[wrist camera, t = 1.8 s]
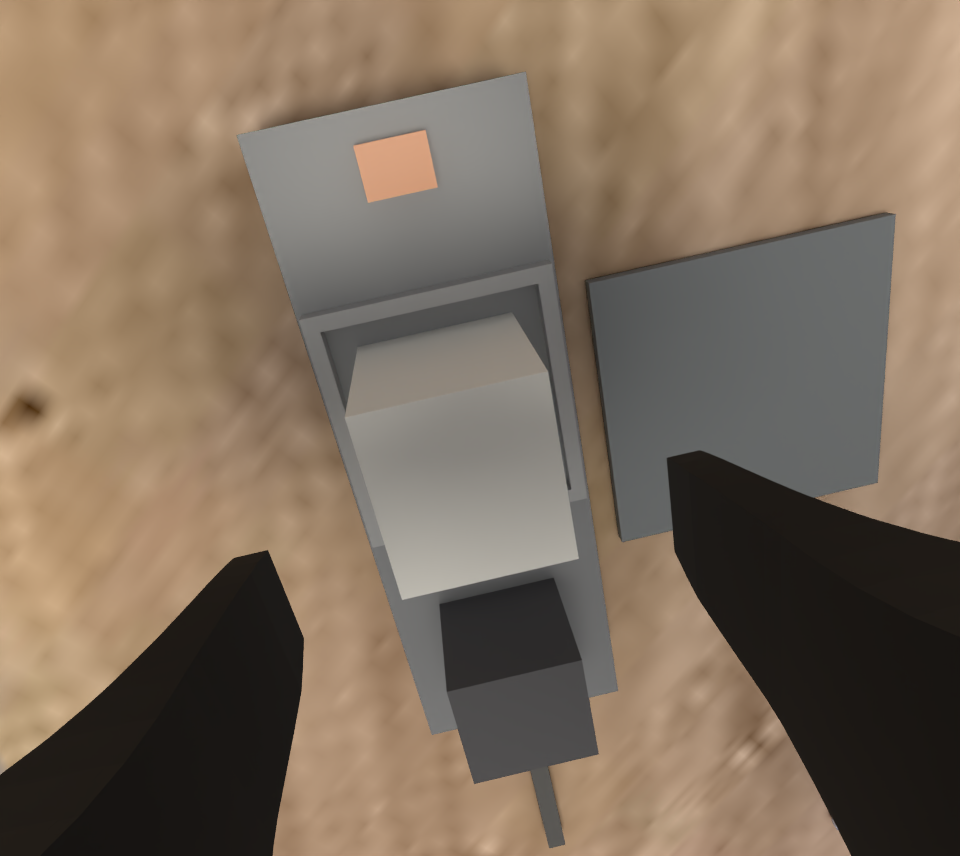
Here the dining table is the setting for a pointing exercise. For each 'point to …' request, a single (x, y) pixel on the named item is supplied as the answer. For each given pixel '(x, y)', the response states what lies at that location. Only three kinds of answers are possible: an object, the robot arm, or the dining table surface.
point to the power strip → (429, 306)
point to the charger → (461, 455)
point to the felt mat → (746, 364)
